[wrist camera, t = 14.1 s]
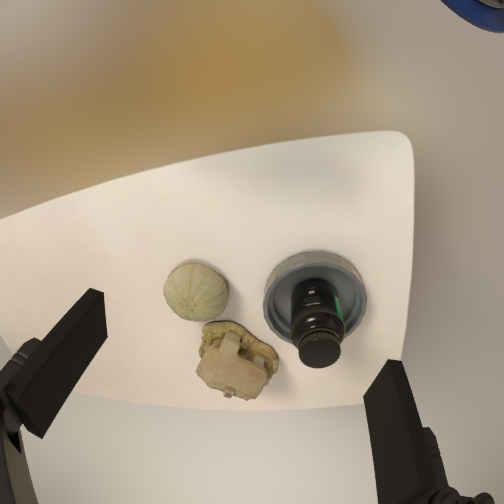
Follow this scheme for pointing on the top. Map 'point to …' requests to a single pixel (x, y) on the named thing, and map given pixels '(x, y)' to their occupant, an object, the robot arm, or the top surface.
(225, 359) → the ceramic model
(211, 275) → the sea urchin shell
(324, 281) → the supplement bottle
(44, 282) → the top surface
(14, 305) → the top surface
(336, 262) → the dish
